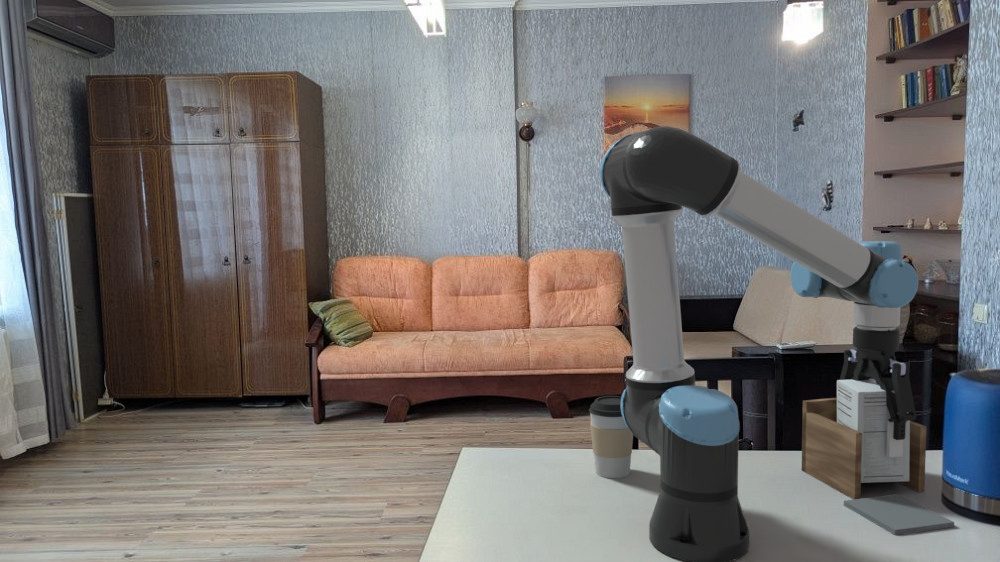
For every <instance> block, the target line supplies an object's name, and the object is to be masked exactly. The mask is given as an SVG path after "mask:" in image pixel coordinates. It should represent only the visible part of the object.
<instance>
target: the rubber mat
mask: <svg viewBox="0 0 1000 562" xmlns="http://www.w3.org/2000/svg"><path fill="white" fill-rule="evenodd" d="M843 506H845V507H846V508H848V509H850V510H851V511H853V512H855V513H856V514H858V515H860V516H862V517H863V518H865V519H866V520H868V521H870V522H871V523H874V524H876V525H877V526H879V527H880V528H882V529H884V530H885V531H887V532H890V533H891V534H892V535H894V536H896V535H903V534H912V533H919V532H920V533H921V532H925V531H934V530H940V529H948V527H950V528H954V527H955V521H954V520H951V519H949V518H947V517H945V516H944V515H941V514H939V513H937V512H935V511H933V510H931V509H930V508H927V507H925V506H923V505H921V504H919V503H917V502H916V501H913V500H911V499H909V498H907V497H905V496H904V495H902V494H899V493H895V494H889V495H881V496H871V497H865V498H863V497H862V498H860V499H848V500H847V499H846V500H843ZM953 526H954V527H953Z"/></svg>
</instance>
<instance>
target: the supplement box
mask: <svg viewBox="0 0 1000 562" xmlns="http://www.w3.org/2000/svg"><path fill="white" fill-rule="evenodd" d="M836 392H837V395H836V398H837V423H840V424H842V425H844V426H847V427H849V428H851V429H854V430H856V431H859V432H861V433H862V457H861V484H864V483H894V482H895V483H896V482H897V483H899V482H902V481H909V456H910V421H911V420H909V421H907V422H906V429H905V439H903V456H899V457H890V458H889V457H887V456H886V447H887V420H888V419H890V418H891V416H890V413H889V411H888V408H887V405H886V391H885V390H882V389H881V388H880V386H879V385H878V384H877V383H876V381H875V379H873V378H869V380H861V381H856V380H852V379H851V380H840V379H837V380H836ZM891 392H893V393H895V392H894V391H891ZM897 414H898V412H897Z"/></svg>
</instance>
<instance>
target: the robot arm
mask: <svg viewBox="0 0 1000 562" xmlns="http://www.w3.org/2000/svg"><path fill="white" fill-rule="evenodd" d="M600 162H601V163H600V167H599V179H600V183H601V186H602V189H603V190H604V191H605V193H606V194H607V196H608V197H609V198H610V199H609V202H610V210H611V218H612V219H613V220H614V221H615V222H616V223H617V224H619V225H620V227H621V233H622V242H623V243H622V244H623V254H624V256H623V257H624V266H625V280H626V291H627V302H628V303H627V305H628V313H629V325H630V337H631V349H632V359H633V361H632V362H633V363H632V366H631V367H630V368H628V370H627V371H626V373H625V382H626V387H625V389H624V390H623V392H622V394H621V396H620V397H621V414H622V417H623V420H624V422H625V424H626V425H627V427H628V428H629V430H630V431H631V432H632V434H633V437H635V438H636V439H638V440H639V441H640V442H641V443H643V444H645V445H646V446H647V447H648V448H650V450H652V451H654V452H655V454H657V455H658V456H659V459H660V460H659V461H660V462H659V463H660V472H659V473H660V474H659V475H660V476H659V477H660V487H659V488H660V491H659V494H658V496H657V500H656V502H655V505H654V508H653V511H652V515H651V517H650V520H649V524H648V525H649V526H648V527H649V528H648V530H649V531H648V532H649V534H648V535H649V536H648V537H649V542H650V543H651V545H652V546H653V547H654V548H655V549H657V550H658V551H660V552H661V553H662V554H665V555H667V556H670V557H672V558H675V559H678V560H681V561H686V562H731V561H735V560H738V559H740V558H742V557H743V556H745V555H746V554H747V553H748V552H749V550H750V530H749V527H748V523H747V521H746V520H747V519H746V517H745V515H744V511H743V508H742V505H741V501H740V500H739V494H738V492H739V489H738V488H739V432H740V428H741V426H740V420H739V411H738V406H737V404H736V402H735V401H734V399H733V398H732V397H730V395H728V394H727V393H726V392H725V393H724V392H723V391H721V390H719V389H715V388H711V389H710V388H708V387H707V386H702V385H700V386H699V385H696V374H695V369H694V367H692V366H691V365H690V364H688V363H687V362H686V360H685V353H684V352H685V351H684V340H683V329H682V328H683V327H682V325H683V324H682V312H681V302H680V301H681V298H680V289H679V273H678V272H679V271H678V263H677V261H678V260H677V247H676V236H675V234H676V233H675V224H674V222H675V220H676V219H677V217H678V216H679V215H680V214H681V213H682V211H683V208H686V209H689V210H691V211H693V212H695V213H697V214H698V215H700V216H702V217H707V216H711V215H713V216H715V217H717V218H718V219H720V220H721V221H724V222H726V223H727V224H729V225H731V226H732V227H734V228H736V229H738V230H740V231H741V232H742V233H745V234H746V235H747V236H749V237H752V238H753V239H755V240H757V242H760V243H762V244H763V245H765V246H767V247H768V248H770V249H773V250H774V251H775V252H777V253H779V254H781V255H783V256H784V257H785V258H787V259H789V260H791V261H793V263H792V265H791V268H790V284H791V287H792V289H793V291H794V292H795V293H796V294H797V295H798V296H800V297H802V298H814V299H817V298H831V299H835V300H836V299H837V300H843V301H848V302H853V310H852V311H853V314H852V323H853V324H854V325H856V326H854V328H853V329H852V346H853V347H854V348H856V349H845V350H844V351H843V365H842V368H841V373H840V377H839V380H851V379H852V380H856V381H861V380H869V379H875V381H876V383H877V384H878V385H879V386H880V388H881V389H882V390H885V391H886V405H887V408H888V411H889V413H890V416H891V418H890V419H888V420H887V447H886V456H887V457H889V458H890V457H899V456H903V439H905V429H906V422H907V421H909V420H910V421H915V420H916V419H917V412H916V408H915V401H914V396H913V392H912V386H911V380H910V369H911V367H910V364H909V362H899V361H897V360H896V356H895V352H896V351H897V350H899V349H900V340H901V339H900V337H901V335H900V334H901V332H900V330H899V329H898V328H897V327H899V326H900V324H901V308H902V307H904V306H907V305H908V304H909V303H910V302H912V301H913V299H914V298H915V296H916V294H917V292H918V289H919V277H918V273H917V271H916V270H915V268H914V267H913V266H912V265H911V264H910V263H908V262H907V261H903V249H902V245H901V244H900V243H899V242H896V241H888V240H887V241H886V240H885V241H883V240H877V241H876V240H875V241H874V240H872V241H871V240H869V241H868V240H867V241H856V240H854V239H852V238H851V237H850V236H848V235H846V234H845V233H843V232H841V231H839V229H837V228H836V227H835V228H834V227H833V226H831V225H830V224H828V223H827V222H825V221H823V220H822V219H820V218H819V217H817V216H815V215H813V214H812V213H810V212H808V211H807V210H805V209H804V208H802V207H801V206H799V205H797V204H795V203H794V202H792V201H790V200H789V199H788V198H786V197H784V196H782V195H781V194H779V193H777V192H776V191H774V190H773V189H771V188H769V187H768V186H767V185H765V184H763V183H761V182H759V181H757V180H756V179H754V178H753V177H751V176H750V175H748V174H747V173H744V172H743V171H742V170H741V163H740V162H739V161H738V160H737V159H735V158H734V157H732V156H730V155H729V154H728V153H725V152H724V151H722V150H721V149H719V148H717V147H716V146H714V145H712V144H711V143H709V142H707V141H706V140H704V139H702V138H700V137H698V136H696V135H695V134H693V133H691V132H689V131H687V130H684V129H682V128H679V127H675V126H674V127H673V126H666V125H665V126H664V125H663V126H656V127H653V128H649V129H646V130H642V131H639V132H635V133H629V134H627V135H625V136H623V137H621V138H620V139H618V140H617V141H616V142H614V143H613V144H612V145H610V146H609V148H608V149H607V151H606V152H605V154H604V155H603V157H602V159H601V161H600ZM891 391H894V392H895V393H893V392H891ZM836 396H837V391H836ZM897 412H898V414H897Z"/></svg>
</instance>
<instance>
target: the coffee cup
mask: <svg viewBox="0 0 1000 562" xmlns="http://www.w3.org/2000/svg"><path fill="white" fill-rule="evenodd" d="M621 397H622V396H618V395H606V396H605V395H603V396H599V397H597V398H595V399H594V402H592V403H591V404H590V408H589V409H588V412H589V414H590V423H589V425H590V434H591V443H592V452H593V456H594V457H593V458H594V466H595V467H594V469H595V470H594V471H595V474H596V475H598V476H599V477H602V478H606V479H623V478H626V477H628V476H629V475H630V473H631V458H632V452H633V444H634V443H633V442H634V435H633V434H632V432H631V431H630V430H629V428H628V427H627V425H626V424H625V422H624V420H623V417H622V414H621Z"/></svg>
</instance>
